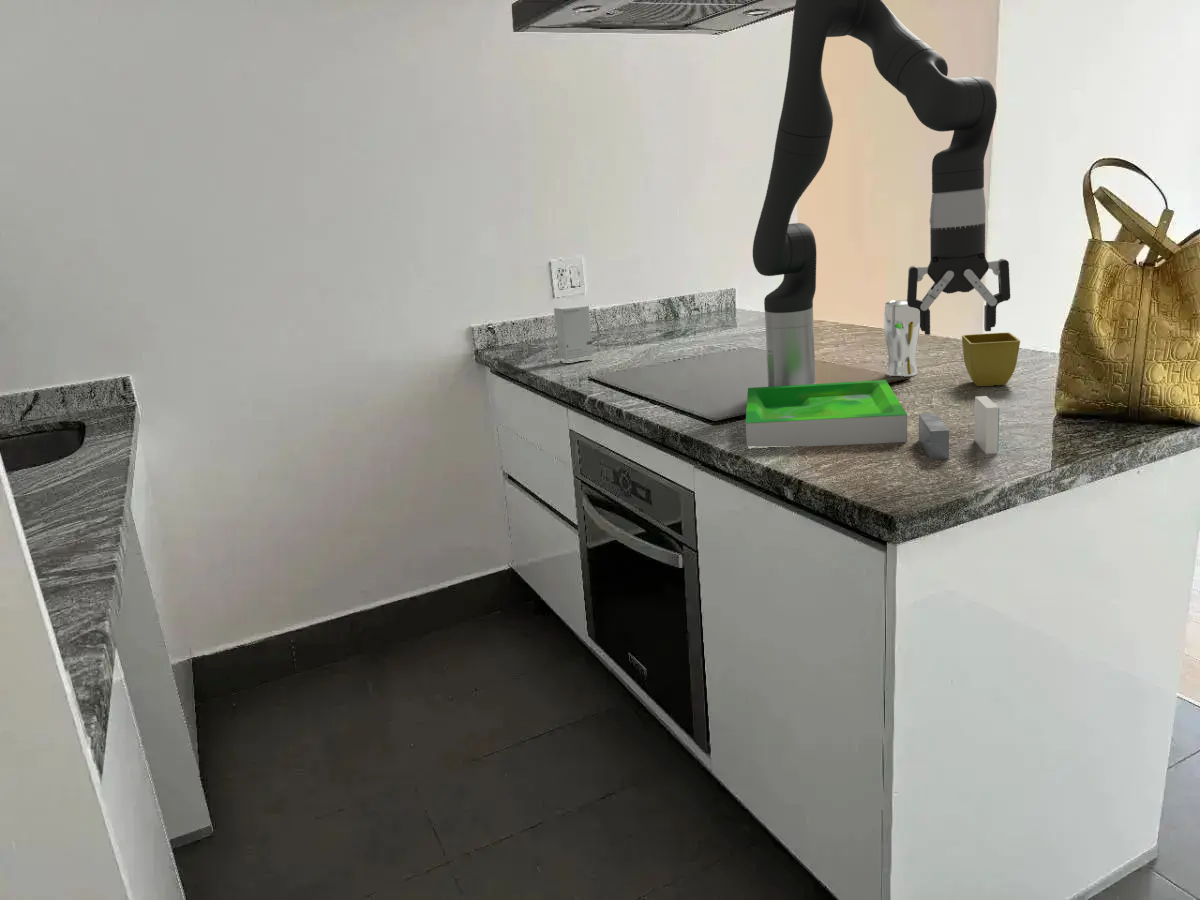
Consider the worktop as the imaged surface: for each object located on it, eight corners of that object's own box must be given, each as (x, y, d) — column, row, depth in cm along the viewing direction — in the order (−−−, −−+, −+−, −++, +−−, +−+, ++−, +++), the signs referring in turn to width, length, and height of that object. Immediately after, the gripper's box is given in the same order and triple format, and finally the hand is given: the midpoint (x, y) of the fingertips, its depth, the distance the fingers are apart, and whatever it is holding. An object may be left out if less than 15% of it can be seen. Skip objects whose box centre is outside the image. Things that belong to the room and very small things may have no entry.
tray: (907, 445, 137) (907, 414, 136) (747, 452, 142) (745, 422, 141) (885, 406, 161) (885, 379, 159) (749, 413, 165) (747, 387, 164)
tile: (985, 454, 128) (986, 408, 126) (974, 440, 134) (975, 396, 132) (998, 453, 127) (999, 407, 125) (986, 439, 134) (987, 395, 132)
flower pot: (1019, 387, 161) (1021, 340, 159) (969, 390, 163) (970, 343, 161) (1008, 377, 170) (1009, 331, 167) (960, 380, 172) (961, 335, 169)
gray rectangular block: (930, 460, 128) (931, 431, 126) (918, 441, 137) (918, 413, 136) (948, 459, 127) (949, 430, 126) (935, 440, 137) (935, 412, 135)
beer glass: (921, 370, 183) (921, 299, 179) (917, 377, 177) (918, 304, 173) (886, 370, 186) (886, 300, 182) (882, 378, 180) (881, 305, 176)
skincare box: (566, 365, 231) (559, 309, 227) (558, 362, 236) (552, 307, 232) (595, 360, 234) (589, 304, 229) (586, 357, 239) (581, 303, 235)
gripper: (907, 229, 126) (909, 339, 131) (1014, 219, 122) (1012, 333, 126) (905, 226, 133) (906, 331, 137) (1006, 216, 129) (1004, 325, 133)
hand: (957, 332), depth 132 cm, fingers open, 8 cm apart
